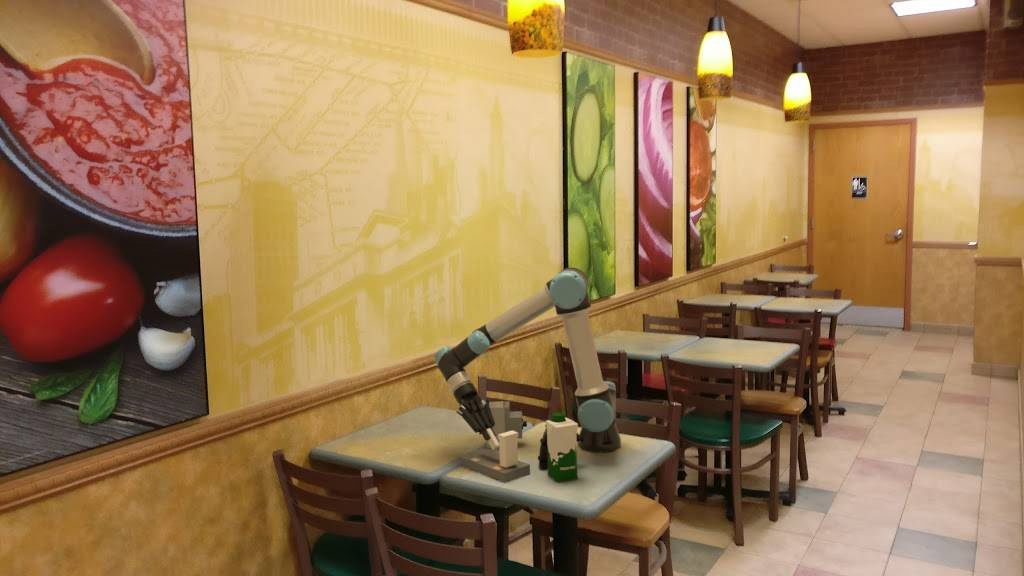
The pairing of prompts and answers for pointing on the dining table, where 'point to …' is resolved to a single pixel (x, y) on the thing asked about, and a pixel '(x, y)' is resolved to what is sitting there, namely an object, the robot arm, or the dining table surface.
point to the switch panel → (494, 465)
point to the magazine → (545, 451)
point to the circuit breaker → (505, 420)
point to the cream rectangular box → (508, 448)
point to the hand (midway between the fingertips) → (496, 447)
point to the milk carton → (562, 448)
